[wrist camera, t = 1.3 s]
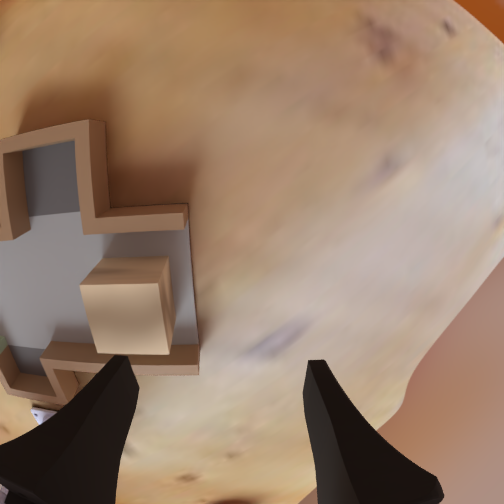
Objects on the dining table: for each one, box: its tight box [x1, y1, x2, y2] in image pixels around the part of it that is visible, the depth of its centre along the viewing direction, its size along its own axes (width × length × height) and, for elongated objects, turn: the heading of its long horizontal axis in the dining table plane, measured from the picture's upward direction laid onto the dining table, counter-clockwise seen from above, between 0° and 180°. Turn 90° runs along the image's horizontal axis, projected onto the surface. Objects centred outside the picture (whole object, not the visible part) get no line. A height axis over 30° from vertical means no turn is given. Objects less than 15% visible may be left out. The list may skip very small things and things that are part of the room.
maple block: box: [79, 256, 176, 355], centre depth 20 cm, size 5×5×4 cm
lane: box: [0, 119, 200, 405], centre depth 20 cm, size 22×27×3 cm
